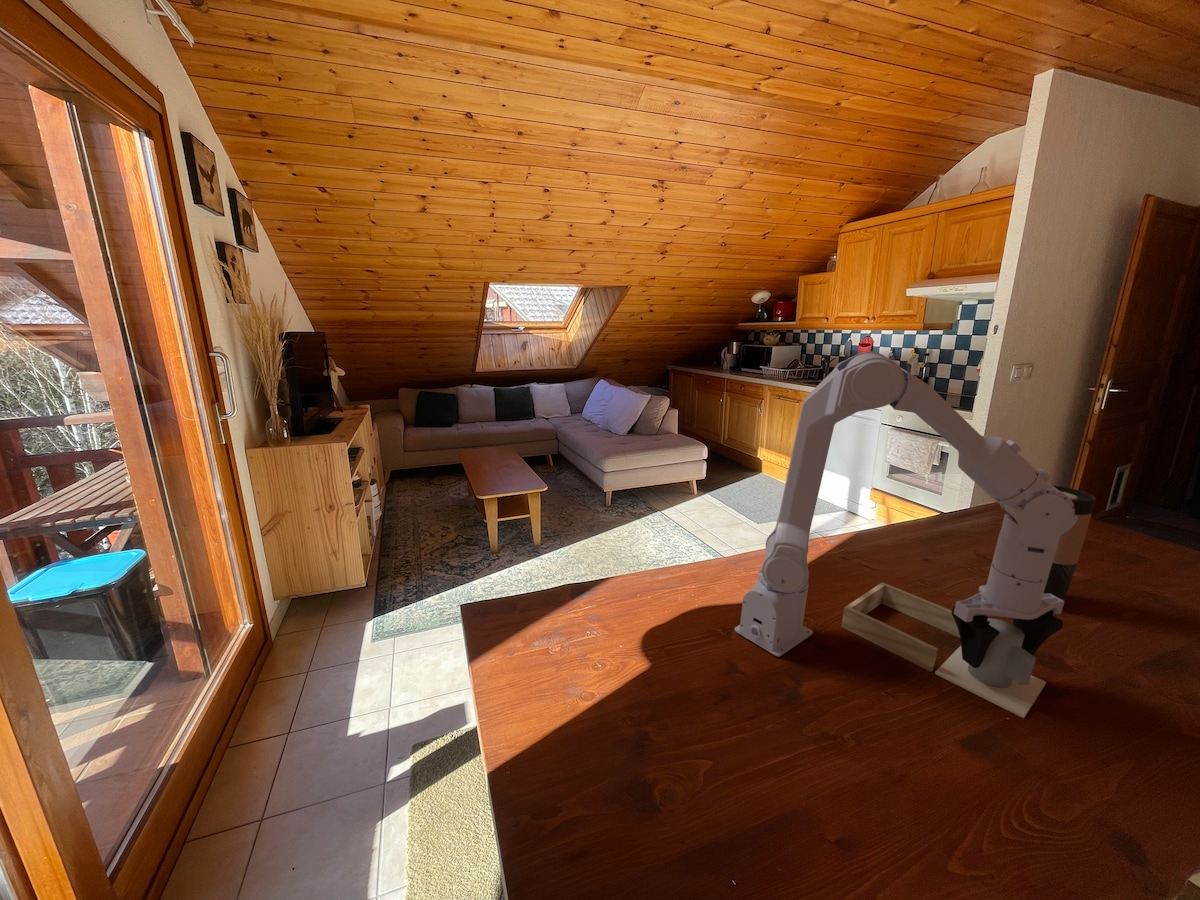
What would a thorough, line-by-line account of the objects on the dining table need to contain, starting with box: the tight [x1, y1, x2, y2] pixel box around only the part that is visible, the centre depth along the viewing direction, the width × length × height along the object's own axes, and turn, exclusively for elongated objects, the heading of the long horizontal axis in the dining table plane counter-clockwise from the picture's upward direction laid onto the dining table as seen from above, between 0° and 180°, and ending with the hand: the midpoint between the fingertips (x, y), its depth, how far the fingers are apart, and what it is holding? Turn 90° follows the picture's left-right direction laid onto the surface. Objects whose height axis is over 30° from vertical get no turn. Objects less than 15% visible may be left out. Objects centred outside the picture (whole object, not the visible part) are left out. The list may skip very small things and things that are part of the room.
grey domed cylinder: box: [968, 617, 1037, 688], centre depth 69 cm, size 7×5×8 cm
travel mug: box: [1043, 485, 1097, 602], centre depth 88 cm, size 8×8×20 cm
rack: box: [841, 582, 960, 672], centre depth 80 cm, size 13×13×4 cm
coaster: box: [934, 645, 1047, 719], centre depth 71 cm, size 10×10×1 cm
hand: (994, 660), depth 70 cm, fingers open, 7 cm apart
